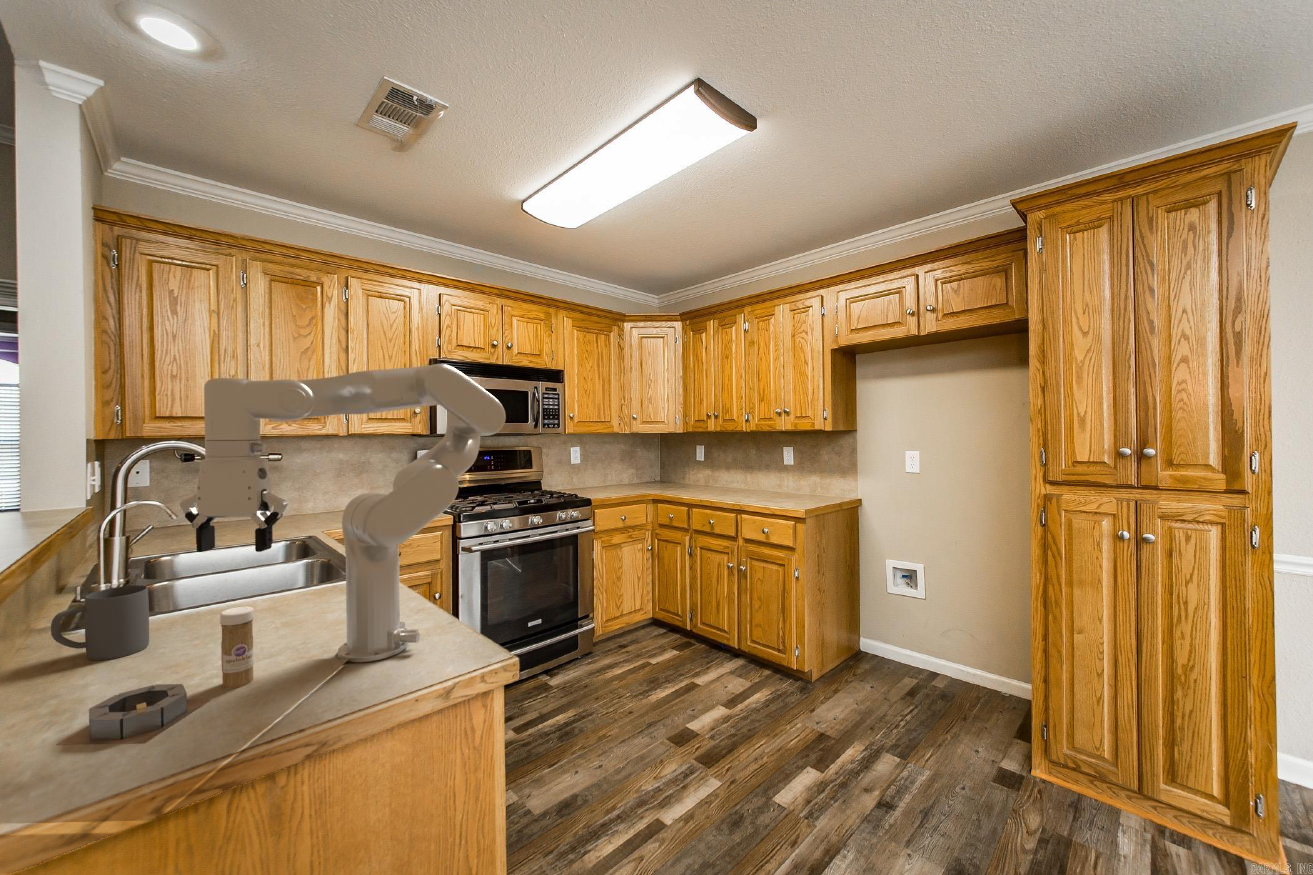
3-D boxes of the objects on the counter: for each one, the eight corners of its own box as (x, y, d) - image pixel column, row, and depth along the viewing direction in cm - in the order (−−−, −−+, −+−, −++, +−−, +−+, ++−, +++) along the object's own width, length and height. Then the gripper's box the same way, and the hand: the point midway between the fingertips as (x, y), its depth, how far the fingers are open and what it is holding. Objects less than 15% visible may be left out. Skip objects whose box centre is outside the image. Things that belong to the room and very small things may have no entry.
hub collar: (202, 702, 88) (202, 678, 88) (143, 739, 78) (143, 713, 77) (135, 703, 88) (135, 679, 88) (67, 741, 77) (66, 714, 77)
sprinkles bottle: (229, 695, 92) (228, 616, 91) (216, 689, 94) (214, 611, 94) (260, 684, 96) (258, 608, 95) (246, 678, 98) (245, 603, 98)
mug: (141, 638, 116) (140, 582, 116) (156, 648, 111) (154, 589, 111) (46, 662, 104) (44, 599, 104) (57, 674, 99) (55, 608, 99)
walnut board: (211, 704, 89) (211, 699, 89) (144, 748, 77) (144, 742, 77) (135, 705, 88) (135, 700, 88) (56, 749, 76) (56, 744, 76)
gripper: (298, 449, 98) (299, 545, 98) (199, 449, 97) (200, 545, 98) (270, 452, 90) (271, 555, 91) (162, 451, 90) (164, 555, 90)
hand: (234, 550), depth 94 cm, fingers open, 9 cm apart
